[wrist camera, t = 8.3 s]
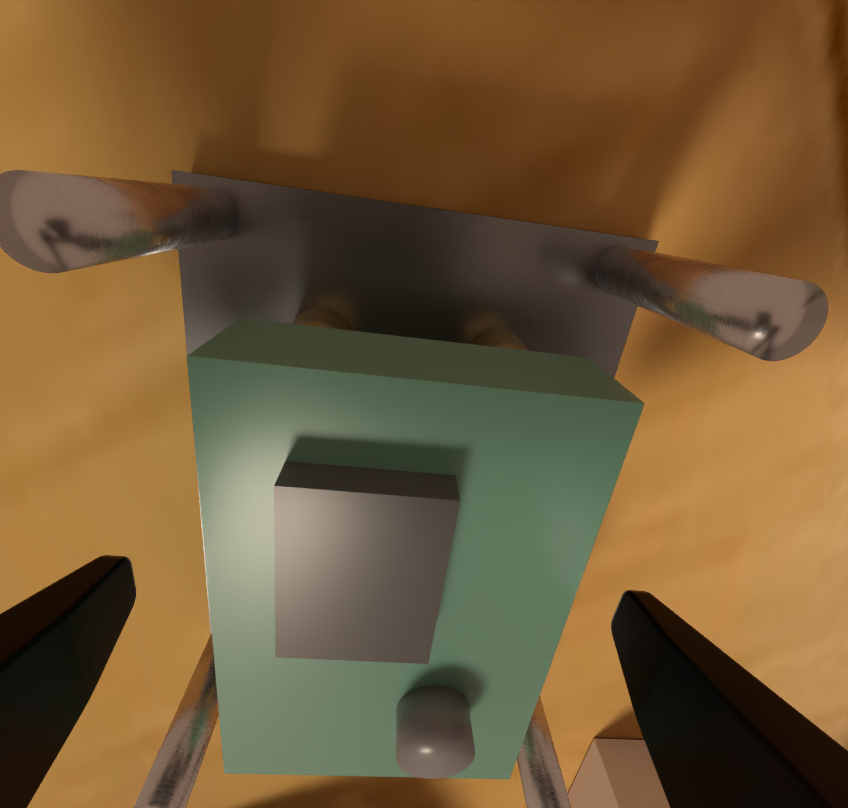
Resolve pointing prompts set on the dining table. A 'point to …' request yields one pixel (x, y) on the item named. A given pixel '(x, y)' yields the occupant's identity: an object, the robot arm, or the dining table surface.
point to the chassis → (387, 313)
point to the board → (393, 541)
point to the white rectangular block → (617, 777)
